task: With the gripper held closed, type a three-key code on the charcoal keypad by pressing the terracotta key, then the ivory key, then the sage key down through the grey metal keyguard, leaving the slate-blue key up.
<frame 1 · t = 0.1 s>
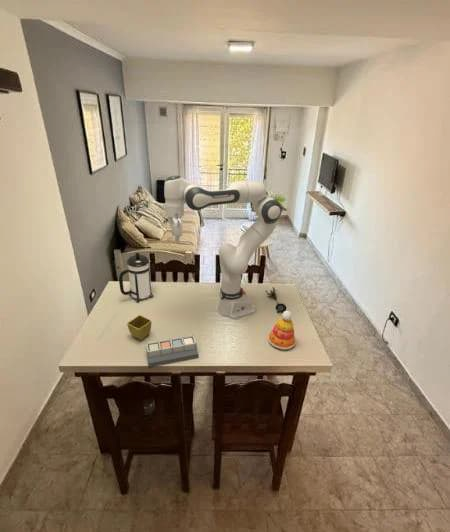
hand: (175, 238, 151), 48 cm above the table, fingers open, 8 cm apart
key terracotta: (165, 347, 145), point 3 cm above the table, slide at 0.0 cm
stacking toy: (281, 342, 158), on the table
key ivory: (188, 343, 148), point 3 cm above the table, slide at 0.0 cm
flower pot: (140, 336, 157), on the table
key slate: (177, 345, 147), point 3 cm above the table, slide at 0.0 cm
keypad: (171, 352, 147), on the table
coffee press: (139, 297, 189), on the table
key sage: (154, 350, 144), point 3 cm above the table, slide at 0.0 cm
butter knife: (108, 326, 164), on the table
artificial flower: (274, 303, 190), on the table
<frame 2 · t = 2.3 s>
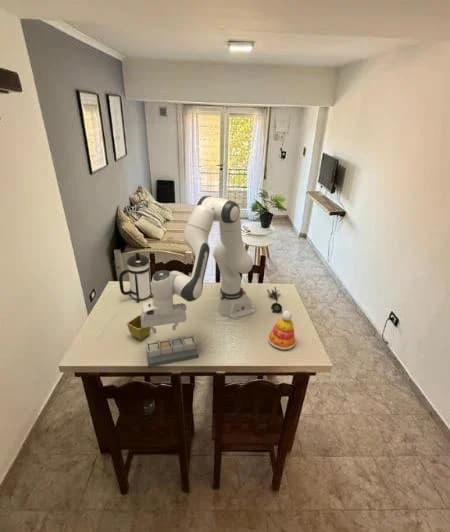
hand: (164, 330, 141), 14 cm above the table, fingers open, 8 cm apart
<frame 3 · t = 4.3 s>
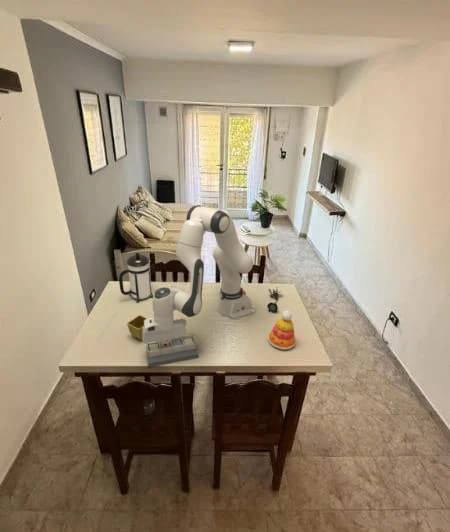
hand: (165, 345, 144), 5 cm above the table, fingers closed, pressing on key terracotta
key terracotta: (165, 348, 145), point 3 cm above the table, slide at 0.1 cm, touching gripper
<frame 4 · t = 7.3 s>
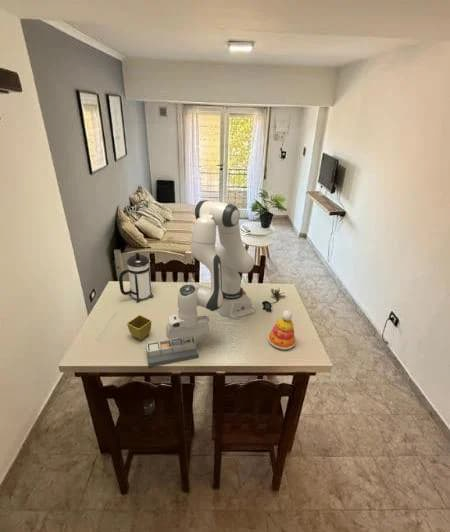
hand: (187, 341, 147), 5 cm above the table, fingers closed, pressing on key ivory
key terracotta: (165, 349, 146), point 2 cm above the table, slide at 0.9 cm
key ivory: (188, 344, 148), point 3 cm above the table, slide at 0.3 cm, touching gripper
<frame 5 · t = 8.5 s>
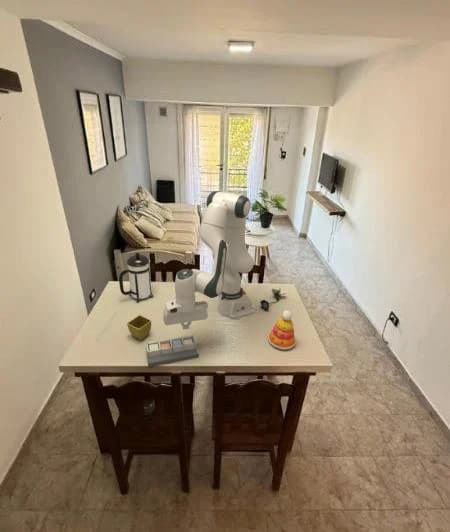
hand: (186, 328, 143), 13 cm above the table, fingers closed
key ivory: (188, 345, 149), point 2 cm above the table, slide at 0.9 cm
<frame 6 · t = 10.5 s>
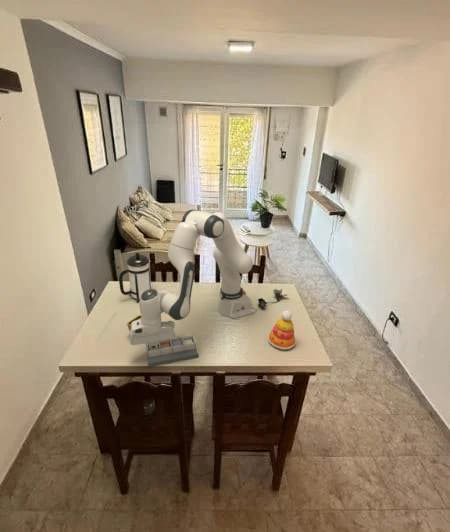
hand: (153, 347, 143), 5 cm above the table, fingers closed, pressing on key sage
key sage: (154, 350, 144), point 3 cm above the table, slide at 0.2 cm, touching gripper
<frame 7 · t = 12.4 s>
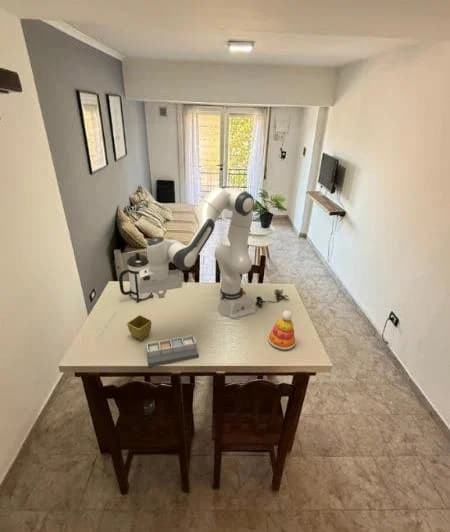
hand: (161, 297, 145), 25 cm above the table, fingers closed
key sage: (154, 351, 144), point 2 cm above the table, slide at 0.9 cm
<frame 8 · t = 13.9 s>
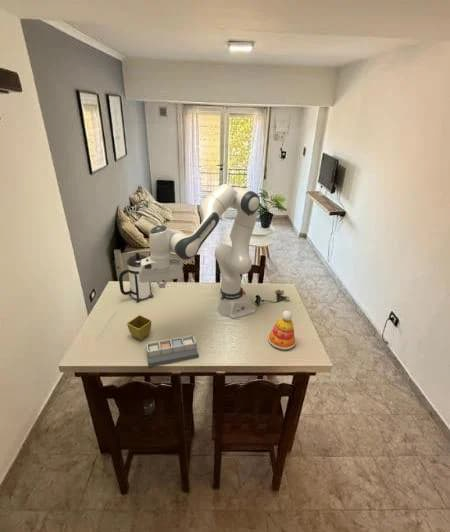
hand: (162, 287, 145), 29 cm above the table, fingers closed
at the end: key terracotta slide at 0.9 cm; key ivory slide at 0.9 cm; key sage slide at 0.9 cm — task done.
